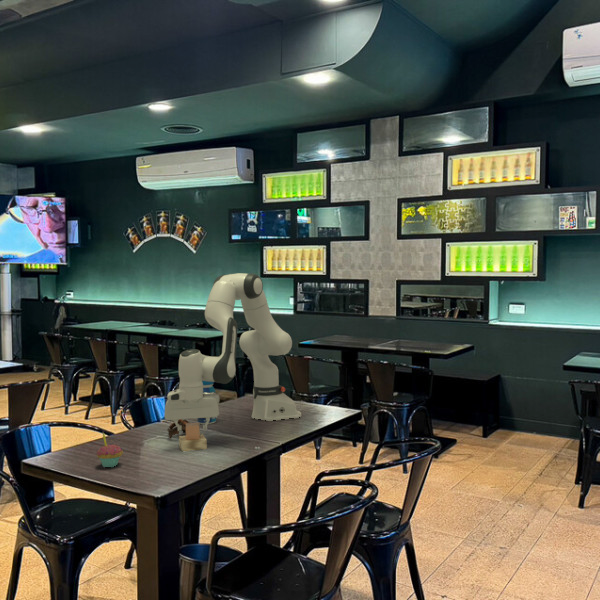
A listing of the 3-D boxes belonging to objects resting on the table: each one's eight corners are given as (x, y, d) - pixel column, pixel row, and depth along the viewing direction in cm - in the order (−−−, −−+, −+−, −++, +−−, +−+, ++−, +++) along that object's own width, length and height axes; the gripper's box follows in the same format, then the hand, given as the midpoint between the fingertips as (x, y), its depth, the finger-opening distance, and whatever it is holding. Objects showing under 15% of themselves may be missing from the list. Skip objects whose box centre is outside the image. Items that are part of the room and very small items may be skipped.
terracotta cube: (199, 435, 239) (199, 422, 239) (199, 439, 234) (199, 425, 234) (186, 436, 238) (186, 423, 238) (185, 439, 233) (185, 426, 233)
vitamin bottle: (220, 422, 273) (218, 377, 272) (202, 425, 269) (200, 379, 268) (211, 419, 280) (210, 374, 279) (193, 422, 276) (192, 376, 275)
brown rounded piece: (193, 441, 246) (182, 425, 244) (173, 451, 247) (162, 435, 245) (199, 426, 257) (188, 410, 255) (179, 436, 259) (169, 420, 257)
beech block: (202, 444, 242) (202, 433, 241) (206, 450, 233) (206, 439, 233) (179, 446, 239) (178, 436, 239) (182, 452, 230) (182, 442, 230)
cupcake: (98, 470, 210) (97, 435, 209) (95, 464, 218) (94, 429, 217) (124, 467, 213) (123, 432, 213) (121, 460, 221) (120, 426, 221)
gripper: (218, 390, 240) (220, 426, 241) (164, 393, 236) (165, 429, 237) (219, 393, 234) (220, 430, 234) (163, 396, 230) (164, 433, 231)
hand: (192, 429), depth 236 cm, fingers open, 8 cm apart
